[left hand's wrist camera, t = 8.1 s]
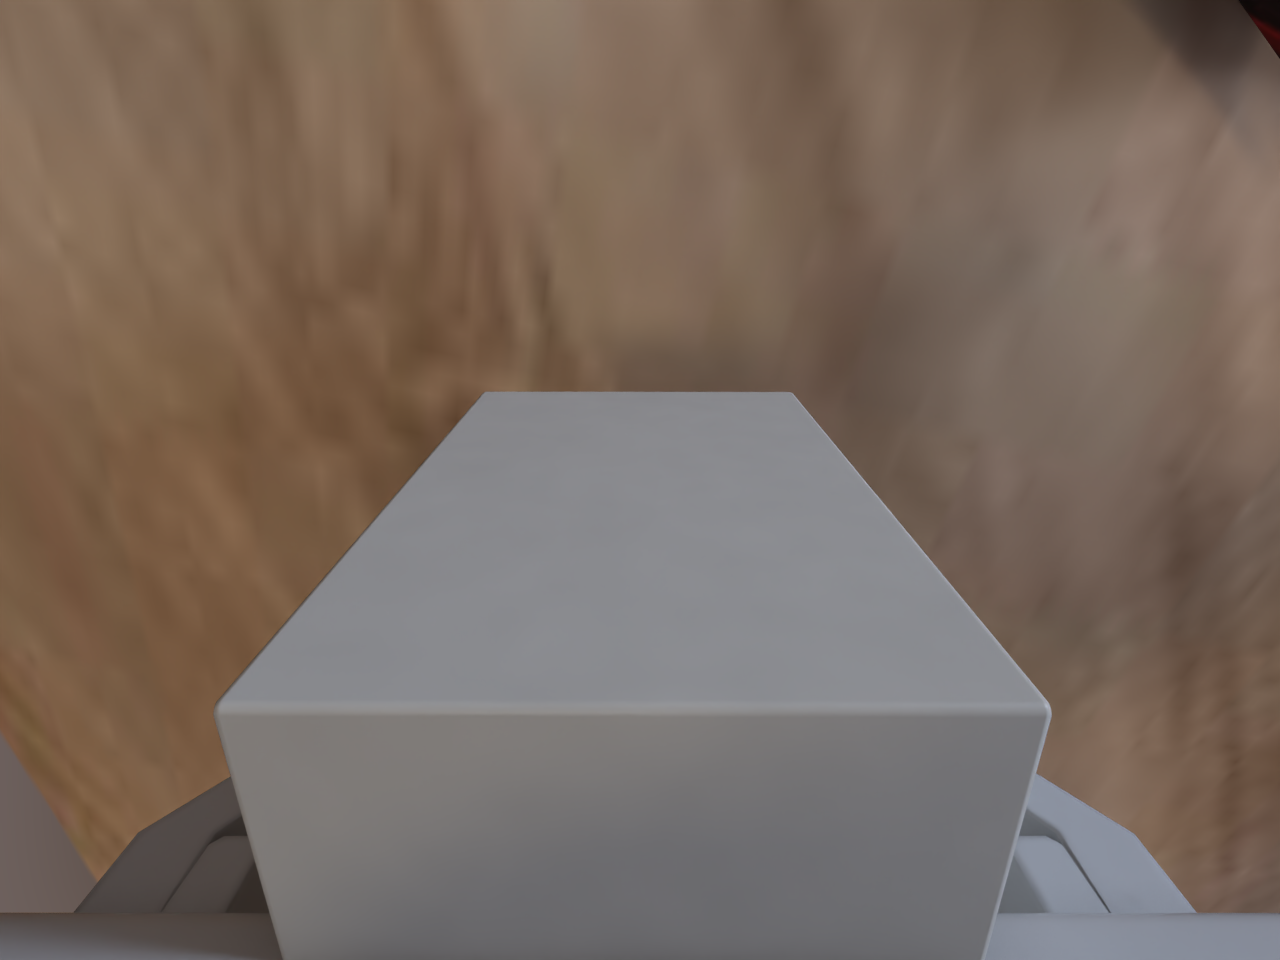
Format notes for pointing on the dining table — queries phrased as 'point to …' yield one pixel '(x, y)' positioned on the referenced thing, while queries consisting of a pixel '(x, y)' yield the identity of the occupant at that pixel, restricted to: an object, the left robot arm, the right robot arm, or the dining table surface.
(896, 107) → the dining table surface
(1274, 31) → the toy
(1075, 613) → the dining table surface
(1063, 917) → the left robot arm
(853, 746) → the bar
